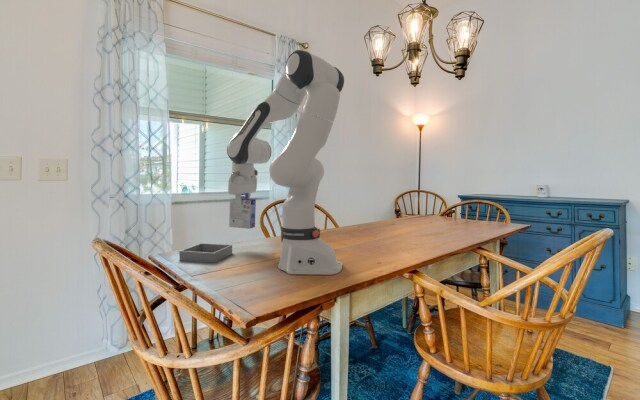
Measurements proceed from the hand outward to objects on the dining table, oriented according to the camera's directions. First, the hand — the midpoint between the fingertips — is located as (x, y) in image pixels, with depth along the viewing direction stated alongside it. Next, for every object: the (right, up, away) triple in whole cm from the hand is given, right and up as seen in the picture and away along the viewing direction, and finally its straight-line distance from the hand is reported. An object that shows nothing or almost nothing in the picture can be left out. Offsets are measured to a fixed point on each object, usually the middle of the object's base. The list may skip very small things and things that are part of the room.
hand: (243, 204), depth 142 cm
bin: (-12, -20, -11) cm, 26 cm away
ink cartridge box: (-1, -10, +1) cm, 10 cm away
